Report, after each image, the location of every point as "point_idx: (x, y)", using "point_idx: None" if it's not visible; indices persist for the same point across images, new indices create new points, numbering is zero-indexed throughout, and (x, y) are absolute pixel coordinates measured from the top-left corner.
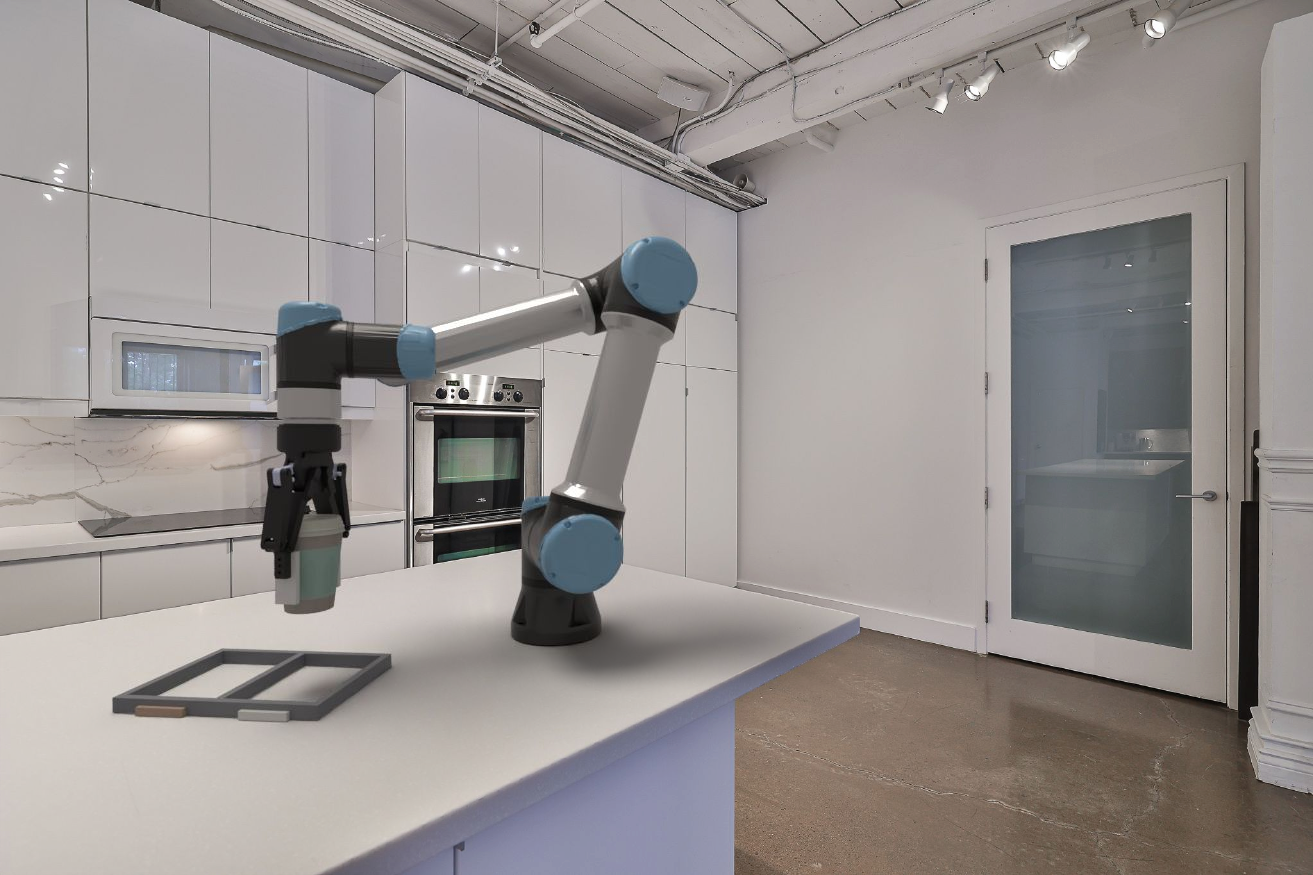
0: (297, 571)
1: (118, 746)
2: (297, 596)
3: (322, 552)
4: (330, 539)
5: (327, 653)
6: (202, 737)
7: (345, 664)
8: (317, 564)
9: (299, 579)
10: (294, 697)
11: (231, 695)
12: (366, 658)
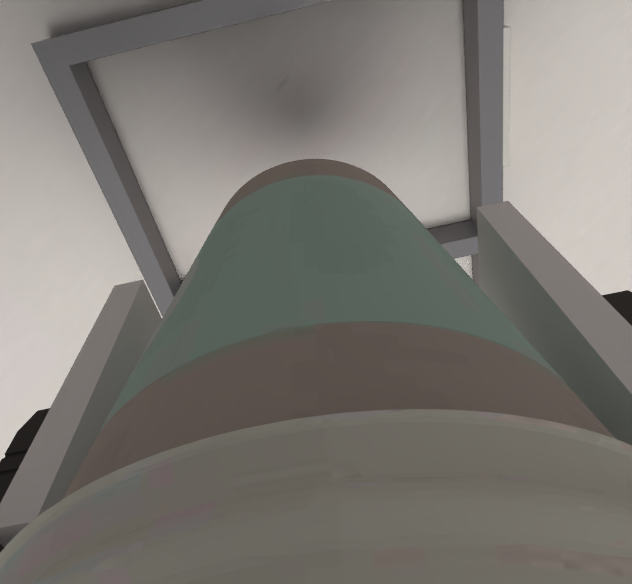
0: (579, 297)
1: (624, 267)
2: (510, 219)
3: (468, 313)
4: (436, 377)
5: (146, 247)
6: (589, 154)
7: (133, 181)
8: (455, 278)
9: (530, 269)
10: (356, 140)
11: (455, 239)
12: (97, 119)
